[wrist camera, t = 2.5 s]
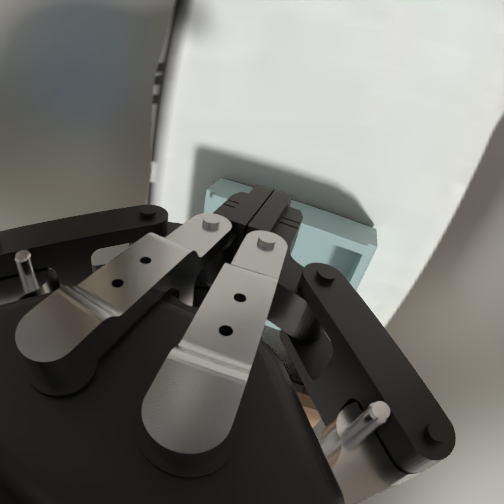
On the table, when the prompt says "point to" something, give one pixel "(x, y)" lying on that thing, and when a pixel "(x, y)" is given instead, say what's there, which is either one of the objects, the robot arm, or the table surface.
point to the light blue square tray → (315, 235)
